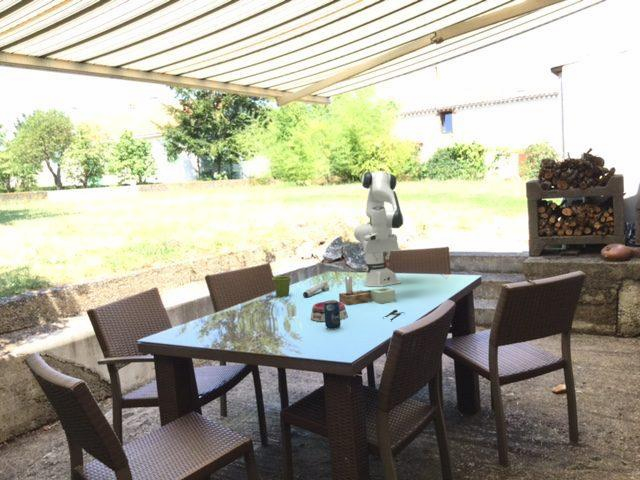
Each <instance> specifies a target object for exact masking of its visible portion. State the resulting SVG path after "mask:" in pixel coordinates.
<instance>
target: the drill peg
mask: <svg viewBox="0 0 640 480" xmlns="http://www.w3.org/2000/svg"><path fill="white" fill-rule="evenodd" d="M352 279H353V278H352V276H346V277H344V281H345V293H346V295H347V296H348V295H353V291H354V290H353V281H352Z"/></svg>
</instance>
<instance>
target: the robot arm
mask: <svg viewBox="0 0 640 480" xmlns="http://www.w3.org/2000/svg"><path fill="white" fill-rule="evenodd" d="M397 184H398V182H397V177H396V175H394V174H392V173H390V174H389V173H388V172H386V171H384V170H380V171H377V172H375V171H374V172H372V171H371V172H370V171H367V172H364V173H363V175H362V177H361V186H362V187H363V188H364V189H367V190H368V189H369V191H368V194H367V200H366V209H365V211H366V212H365V213H366V216H367V218H369V223H368V224H360V225H357V226H356V227H355V228H354V232H353V236H354V238H355V240H357V241H358V242H359V243H360V244H361V246H362V247H363V253H364V255H365V261H366V263H365V270H366V271H365V272H366V279H365V284H364V285H365V286H366V287H382V288H384V287H388V286H393V285H397V284H401V280H399V279H397V274H396V273H395V272H394V271H392V270H391V269H389V268H388V267H389V266H390V263H389V262H385V261H384V257H385V260H390V256H391V252H392V251H398V249H399V243H398V236H397V235H396V234H393V229H399V228H401V227H402V226H403V224H404V216H403V214H402V211H401V206H400V203H399V200H398V195H397V193H396V191H394V190H395V188H396V187H397ZM385 203H389V204H390V205H392V209H393V210H392V211H391V210H390V211H388V210H386V207H385ZM384 253H386V255H385V256H384Z"/></svg>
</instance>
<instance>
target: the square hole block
mask: <svg viewBox="0 0 640 480" xmlns="http://www.w3.org/2000/svg"><path fill="white" fill-rule="evenodd" d="M370 290H371V302H374V303H376V304H379V305H380V304H381V305H382V304H385V303H387V304H388V303H392V302H397V297H396V295H397V294H396V289H392V288H389V287H382V288H374V290H373V289H370Z"/></svg>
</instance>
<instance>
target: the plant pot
mask: <svg viewBox="0 0 640 480" xmlns="http://www.w3.org/2000/svg"><path fill="white" fill-rule="evenodd" d="M291 278H292V276H288V275H285V276H284V275H282V276H281V275H280V276H276V277H272V278H271V280H272V282H273V284H274V288H275V291H276V292H275V293H276V296H277V297H278V296H279V297H280V298H281V297H284V296H285V297H288V296H290V285H291V284H290V283H291ZM279 297H278V298H279Z"/></svg>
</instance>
